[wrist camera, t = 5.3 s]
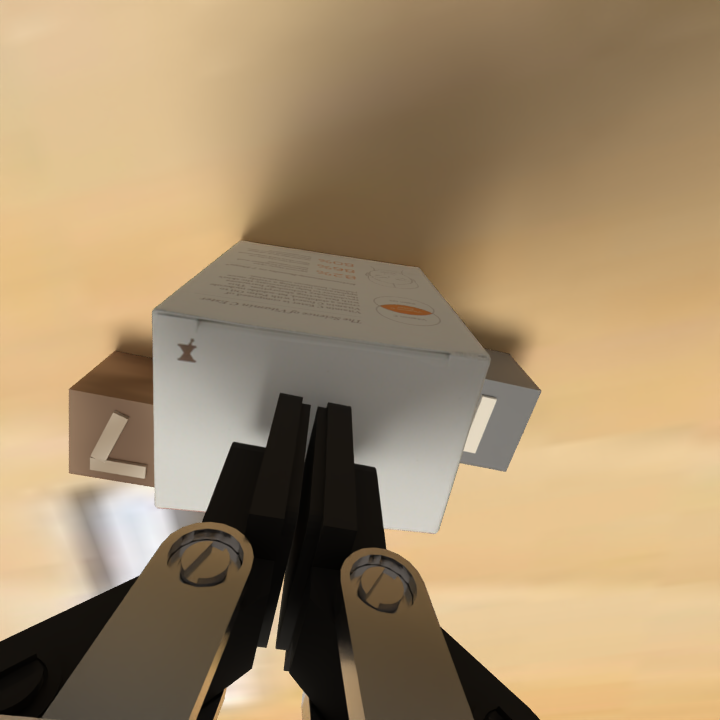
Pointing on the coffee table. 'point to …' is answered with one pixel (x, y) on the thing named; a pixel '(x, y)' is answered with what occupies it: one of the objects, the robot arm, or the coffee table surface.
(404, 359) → the small box
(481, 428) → the digit one block
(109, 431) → the digit seven block
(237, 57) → the coffee table surface
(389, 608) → the robot arm
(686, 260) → the coffee table surface
